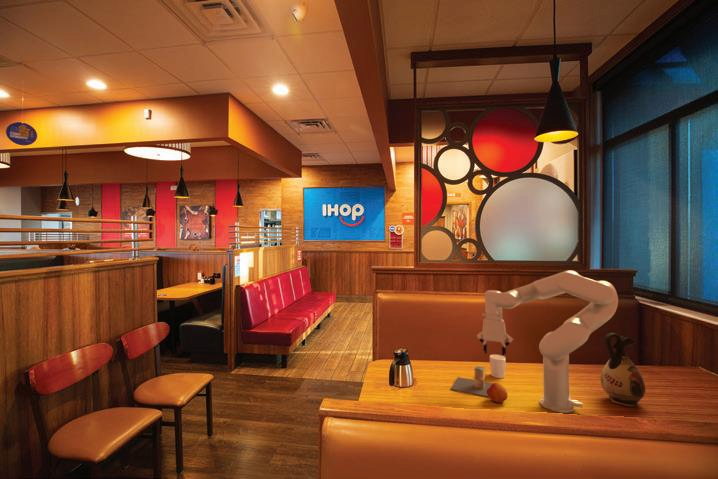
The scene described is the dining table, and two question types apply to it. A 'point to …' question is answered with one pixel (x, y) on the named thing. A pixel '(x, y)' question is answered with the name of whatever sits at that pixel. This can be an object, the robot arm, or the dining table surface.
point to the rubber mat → (470, 387)
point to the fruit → (497, 393)
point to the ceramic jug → (621, 374)
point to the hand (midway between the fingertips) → (494, 353)
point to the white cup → (497, 366)
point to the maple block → (479, 377)
